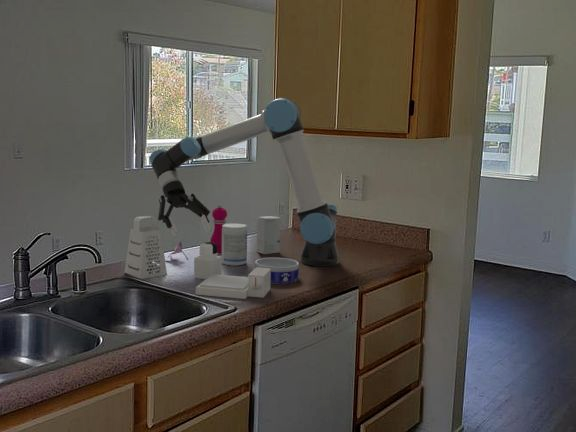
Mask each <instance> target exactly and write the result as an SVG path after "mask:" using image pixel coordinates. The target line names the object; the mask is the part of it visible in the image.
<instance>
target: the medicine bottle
mask: <svg viewBox="0 0 576 432" xmlns="http://www.w3.org/2000/svg"><path fill="white" fill-rule="evenodd" d="M193 264H194V266H193V267H194V268H193V269H194V270H193V271H194V273H193V274H194V276H193V278H194V279H199V280H206V279H207V278H208V277H209V276H211V275H213V274H216V275H223V273H222V272H223V271H222V270H223V269H222V267H223V263H222V255H218V254H217V244H215V243H212V242H210V241H209V242H208V241H207V242H201V243H200V244H199V256H196V257H194V261H193Z"/></svg>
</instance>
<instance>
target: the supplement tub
mask: <svg viewBox="0 0 576 432" xmlns="http://www.w3.org/2000/svg"><path fill="white" fill-rule="evenodd" d="M247 227H248V226H247V224H244V223H243V224H242V223H225V224H224V225H222V254H221V257H222V265H223V264H224V265H227V266H234V267H236V266H243V265H245V264H246V263H247V261H248V258H247V257H248V228H247Z"/></svg>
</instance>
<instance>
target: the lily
mask: <svg viewBox="0 0 576 432" xmlns="http://www.w3.org/2000/svg"><path fill="white" fill-rule="evenodd" d="M186 236H187V235H186ZM186 236H184V235H183V236H182V237H181V239H180V240H179V242H178V243H177V245H175V244H174V245H173V248H174V251H173V252H171V253H170V254H169V255H168V257H167V259H166V260H168V259H169V257H170V259H171V258H172V256H174V255H177V254H179V253H182V254H183V255H184V256H185V258H186V260H187V261H189V258H188V256H187V255H186V254H185V253H184V251H183V241H184V239H185V238H186Z"/></svg>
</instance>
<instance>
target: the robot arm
mask: <svg viewBox="0 0 576 432" xmlns="http://www.w3.org/2000/svg"><path fill="white" fill-rule="evenodd" d="M301 118H302V111H301V108H300V106H298V104H297V103H296V102H295V101H293V100H291V99H288V98H285V97H279V98H276V99H274V100H271V101H270V102H269V103H268V104H267V105H266V107H265V109H263V110H262V112H261V114H258V115H255V116H252V117H249V118H247V119H244V120H241V121H239V122H236V123H232V124H231V125H228V126H225V127H223V128H219V129H218V130H217V129H216V130H214V131H212V132H210V133H209V132H208V133H207V134H203V135H200V136H198V137H194V136H193V135H187V136H186V137H184V138H182V139H181V140H180V141H178V142H177V143H176V144H174V145H173V146H172V147H170V148H169V149H164V148H158V150H154V151H153V152H151V154H150V155H149V161H150V165H151V168H152V169H153V173H154V174H155V176H156V179H157V180H158V183H159V186H160V187H161V190H162V193H163V195H161V196H160V197H159V199H158V202H159V209H158V216H157V219H158V221H162V223H164V224H165V226H166V228H168V229H169V230H170V234H171V235H172V237H173V238H174V237H176V236H177V235H178V230H177V227H176V225H175V222H174V220H173V217H170V216H171V213H172V211H173V209H174V208H175V209H178V208H180V209H181V208H184V209H186V210H189V211H191V212H192V213H194V214H195V215H196V216H198V217H199V220H200V222H201V224H202V227H203V229H204V231H205V233H206V234H209V233H210V232H211V230H212V228H211V225H210V224H209V223H210V220H209V218H208V216H209V214H210V213H211V211H210V209H208V208H207V206H205V205H204V204H203V203H202V202H201V201H200V200H199V199H198V198H197V197H196V195H195V194H194V193H191V194H190V195H188V194H187V193H186V190H185V187H184V185H183V182H182V180H181V177H179V174H178V171H177V169H178V168H180V167H181V166H183V165H184V164H185V163H187V162H188V161H192V160H193V161H194V160H197V159H198V160H199V159H201V158H202V157H205V156H208V155H209V154H210V155H211V154H213V153H216V152H219V151H222V150H224V149H227V148H229V147H233V146H234V145H237V144H240V143H243V142H246V141H249V140H252V139H254V138H257V137H260V136H262V135H263V136H264V135H266V134H270V135H271V137H272V141H274V142H275V143H277V144H278V146H279V148H280V151H281V155H282V158H283V161H284V164H285V167H286V170H287V173H288V176H289V179H290V183H291V186H292V188H293V192H294V194H295V198H296V200H297V204H298V208H297V210H296V214H297V218H298V221H299V223H300V224H299V227H300V229H299V230H300V233H301V236H302V237H303V239H304V240H305V242H304V245H303V248H302V251H301V253H300V260H299V261H300V263H302V264H304V265H309V266H315V267H331V266H336V264H337V265H339V263H340V256H339V252H338V248H337V245H336V244H337V243H336V237H337V235H336V234H337V214H338V207H337V205H335V204H330V203H328V202H327V201H326V200H324V199H322V197H321V196H322V195H321V194H320V190H319V187H318V184H317V182H316V178H315V174H314V171H313V169H312V166H311V162H310V160H309V156H308V153H307V150H306V147H305V143H304V141H303V138H302V136H303V133H304V130H305V129H304V126H303V124H302V121H301ZM166 203H168V204H169V207H168V209H167V211H166V213H165V208H166Z"/></svg>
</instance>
